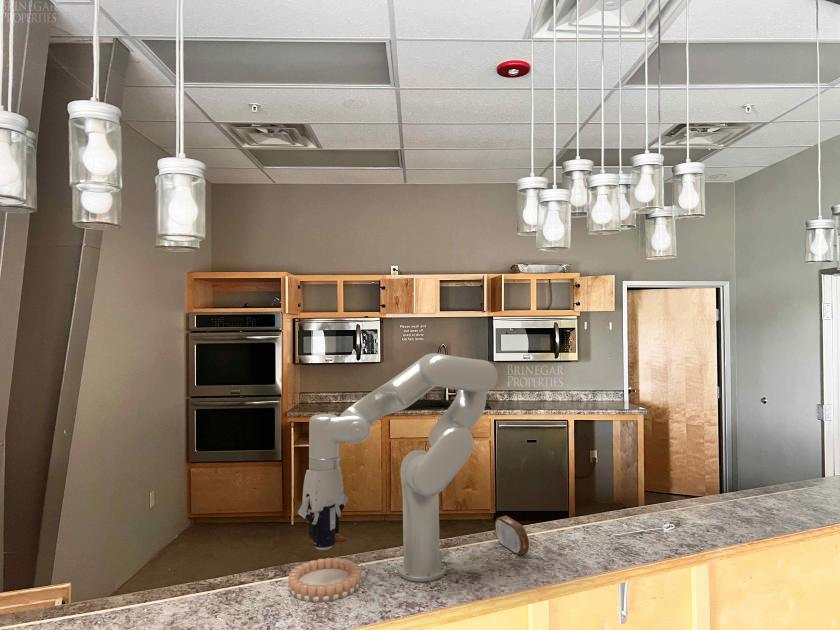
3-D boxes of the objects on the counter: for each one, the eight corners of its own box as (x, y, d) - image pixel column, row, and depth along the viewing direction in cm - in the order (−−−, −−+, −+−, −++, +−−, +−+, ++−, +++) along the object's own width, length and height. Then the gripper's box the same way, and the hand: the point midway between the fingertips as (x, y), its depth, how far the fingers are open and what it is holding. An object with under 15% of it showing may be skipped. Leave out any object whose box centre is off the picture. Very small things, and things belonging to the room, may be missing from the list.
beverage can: (325, 541, 141) (325, 494, 141) (340, 546, 137) (340, 498, 138) (308, 547, 136) (308, 499, 137) (322, 553, 133) (322, 503, 133)
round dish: (330, 563, 149) (330, 552, 149) (376, 582, 137) (376, 570, 137) (273, 586, 136) (273, 574, 136) (318, 609, 124) (318, 596, 124)
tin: (530, 558, 151) (529, 527, 151) (520, 560, 149) (519, 529, 150) (502, 539, 165) (502, 511, 165) (493, 541, 163) (493, 513, 164)
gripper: (340, 455, 147) (340, 523, 146) (286, 467, 134) (286, 541, 133) (359, 459, 142) (359, 529, 141) (305, 472, 129) (305, 549, 128)
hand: (324, 534), depth 137 cm, fingers closed on beverage can, 5 cm apart
